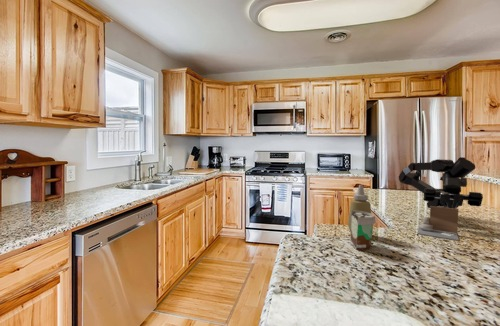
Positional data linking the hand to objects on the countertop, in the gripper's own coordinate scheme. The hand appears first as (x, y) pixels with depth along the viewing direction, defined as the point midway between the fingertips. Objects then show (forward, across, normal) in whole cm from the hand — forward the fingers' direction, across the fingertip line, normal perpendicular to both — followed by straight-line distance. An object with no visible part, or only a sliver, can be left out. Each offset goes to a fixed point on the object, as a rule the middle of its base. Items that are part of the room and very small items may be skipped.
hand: (451, 213), depth 101 cm
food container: (+34, -24, -23) cm, 48 cm away
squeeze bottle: (+25, -28, -15) cm, 41 cm away
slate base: (+9, -4, +1) cm, 10 cm away
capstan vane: (+8, -4, +1) cm, 9 cm away
